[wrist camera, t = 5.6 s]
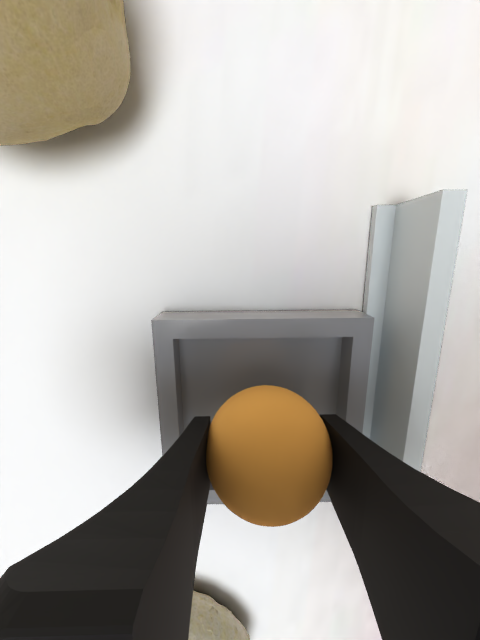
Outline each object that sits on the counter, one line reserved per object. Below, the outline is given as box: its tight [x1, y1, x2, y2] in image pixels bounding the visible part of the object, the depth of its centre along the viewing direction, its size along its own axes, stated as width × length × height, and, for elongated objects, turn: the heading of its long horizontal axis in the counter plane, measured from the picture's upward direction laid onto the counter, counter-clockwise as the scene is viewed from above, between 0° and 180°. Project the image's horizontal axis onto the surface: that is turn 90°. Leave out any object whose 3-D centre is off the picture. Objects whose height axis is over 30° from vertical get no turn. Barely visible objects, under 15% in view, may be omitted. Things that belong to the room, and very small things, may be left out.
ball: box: [206, 385, 333, 527], centre depth 10 cm, size 4×4×4 cm
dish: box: [151, 310, 375, 504], centre depth 13 cm, size 9×9×2 cm
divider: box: [362, 189, 468, 472], centre depth 12 cm, size 2×16×3 cm, turn 0°
